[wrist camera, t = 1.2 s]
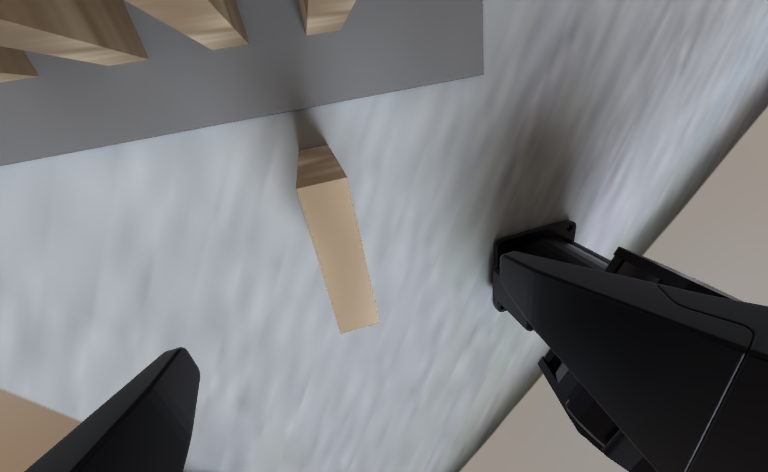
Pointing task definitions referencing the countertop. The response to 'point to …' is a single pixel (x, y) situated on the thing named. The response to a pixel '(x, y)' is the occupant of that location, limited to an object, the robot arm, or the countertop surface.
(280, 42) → the slate mat
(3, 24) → the wooden block
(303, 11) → the domino
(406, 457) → the countertop surface
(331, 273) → the domino
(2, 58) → the domino
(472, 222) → the countertop surface
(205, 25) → the domino
